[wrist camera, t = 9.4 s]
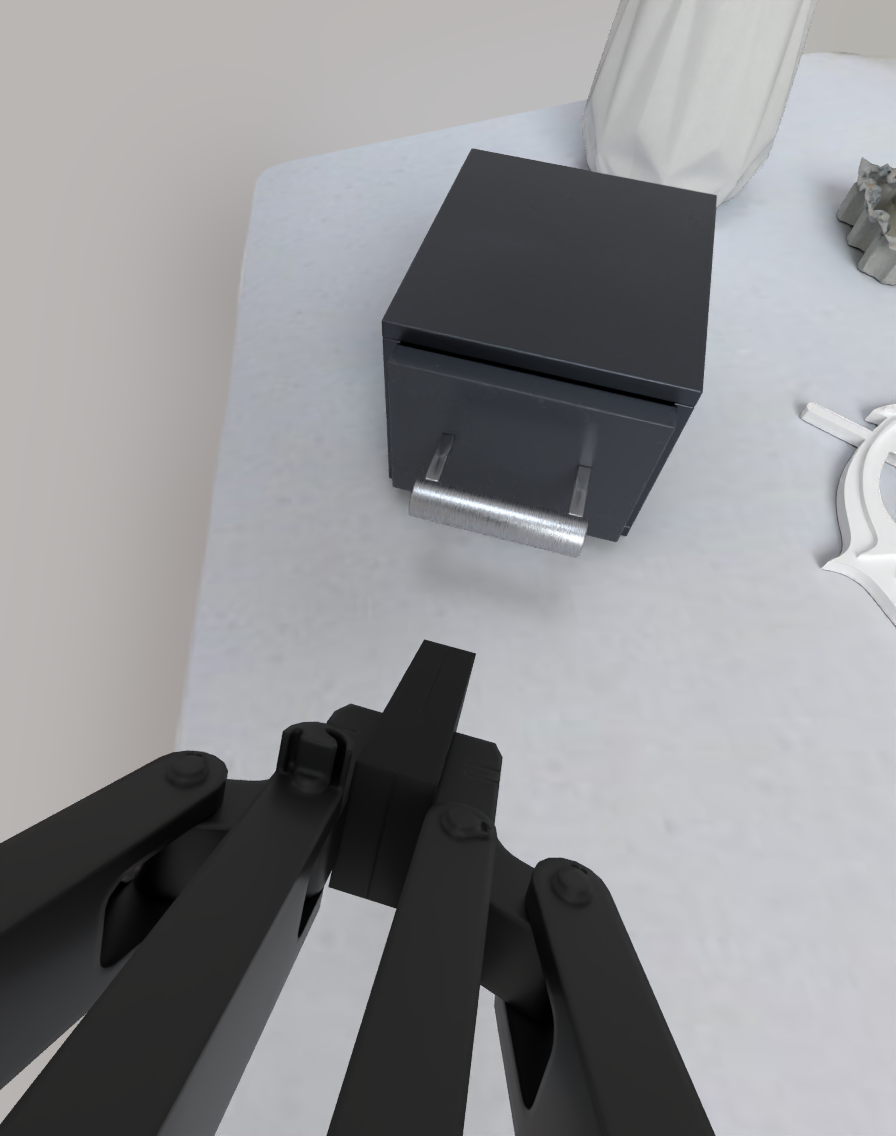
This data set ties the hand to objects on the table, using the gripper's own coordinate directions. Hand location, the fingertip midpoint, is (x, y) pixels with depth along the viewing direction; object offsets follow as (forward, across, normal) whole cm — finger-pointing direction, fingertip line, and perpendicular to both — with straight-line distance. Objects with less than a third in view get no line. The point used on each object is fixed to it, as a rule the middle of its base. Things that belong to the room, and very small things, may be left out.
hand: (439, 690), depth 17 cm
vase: (+41, +5, +28) cm, 50 cm away
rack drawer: (+18, 0, +6) cm, 19 cm away
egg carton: (+39, +23, +26) cm, 52 cm away
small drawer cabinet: (+21, 0, +9) cm, 23 cm away
